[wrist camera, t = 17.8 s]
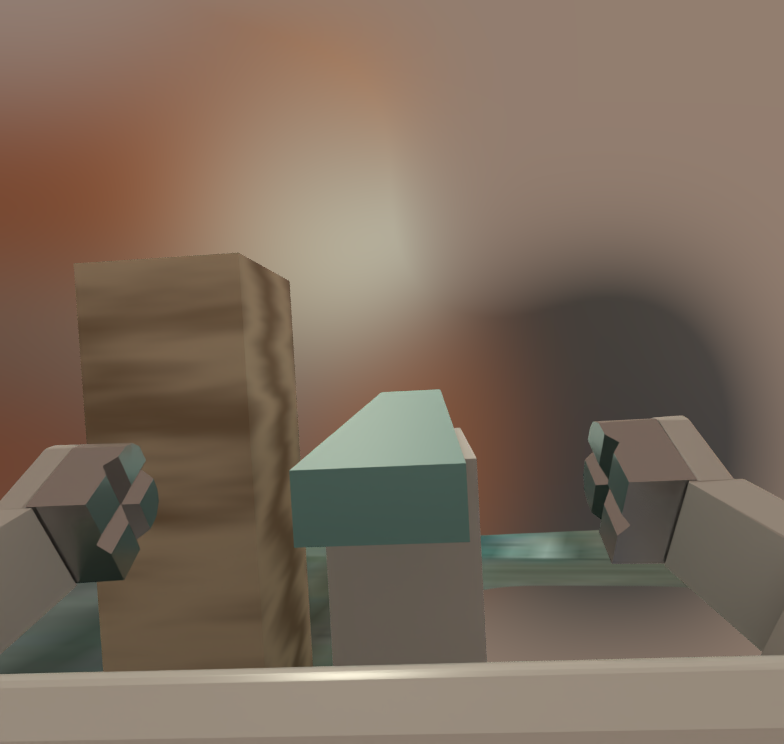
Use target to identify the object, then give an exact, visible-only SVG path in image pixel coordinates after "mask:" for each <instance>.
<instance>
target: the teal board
mask: <svg viewBox="0 0 784 744" xmlns="http://www.w3.org/2000/svg"><path fill="white" fill-rule="evenodd" d="M289 475H290V491H291V507H292V523H293V540H294V548H301V547H333V546H364V545H395V544H426V543H457V542H470V532H469V512H468V493H467V473H466V462H465V459H464V456H463V453H462V450H461V448H460V445H459V442H458V439H457V436H456V433H455V430H454V428H453V425H452V422H451V419H450V416H449V413H448V411H447V408H446V405H445V402H444V399H443V396H442V393H441V391H440V390H419V391H400V392H382V393H380V394H379V395H378V396H377V397H375V399H373V400H372V401H371V402H370V403H368V404H367V405H366V406H365V407H364V408H363V409H361V410H360V411H359V412H358V413H357V414H355V415H354V416H353V417H352V418H351V419H350V420H348V421H347V422H346V423H345V424H344V425H342V426H341V427H340V428H339V429H338V430H337V431H335V432H334V433H333V434H332V435H331V436H329V437H328V438H327V439H326V440H325V441H324V442H322V443H321V444H320V445H319V446H318V447H316V448H315V449H314V450H313V451H312V452H311V453H309V454H308V455H307V456H306V457H305V458H304V459H302V460H301V461H300V462H299V463H298V464H296V465H295V466H294V467H293V468H292V469H290V470H289Z"/></svg>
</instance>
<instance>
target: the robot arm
mask: <svg viewBox="0 0 784 744" xmlns="http://www.w3.org/2000/svg"><path fill="white" fill-rule="evenodd" d="M588 441H589V443H590V446H591V448H592V450H593V452H592V454H590V455H589V456H588V457H587V459H586V460H585V465H584V474H583V476H584V490H585V494H586V498H587V502H588V505H589V507H590V510H591V512H592V513H593V514H595V515H596V516H597V517H599V518H600V519H601V525H600V530H599V533H600V535H601V538H602V540H603V543H604V545H605V548H606V550H607V553H608V555H609V558H610V560H611V563H612V564H654V563H665V567H666V568H667V569H669V570H670V571H671V572H672V573H673V574H674V575H675V576H677V577H678V578H679V579H680V580H681V581H682V582H683V583H685V584H686V585H687V586H688V587H689V588H690V589H691V590H693V591H694V592H695V593H696V594H697V595H698V596H699V597H701V598H702V599H703V600H704V601H705V602H706V603H707V604H708V605H710V606H711V607H712V608H713V609H714V610H715V611H716V612H717V613H719V614H720V615H721V616H722V617H723V618H724V619H726V620H727V621H728V622H729V623H730V624H731V625H732V626H733V627H735V628H736V629H737V630H738V631H739V632H740V633H741V634H743V635H744V636H745V637H746V638H747V639H748V640H749V641H751V642H752V643H753V644H754V645H755V646H756V647H757V648H758V649H759V650H761V651H762V654H761V656H729V657H728V656H727V657H686V658H644V659H604V660H563V661H526V662H525V661H524V662H523V661H522V662H482V663H441V664H402V665H362V666H322V667H283V668H243V669H202V670H159V671H117V672H75V673H35V674H0V744H784V500H782V499H780V498H779V497H777V496H775V495H773V494H771V493H769V492H767V491H765V490H763V489H762V488H760V487H758V486H756V485H754V484H752V483H750V482H748V481H746V480H745V479H733V477H732V476H731V475H730V473H729V472H728V471H727V470H726V468H725V467H724V466H723V464H722V463H721V462H720V460H719V459H718V458H717V456H716V455H715V454H714V452H713V451H712V450H711V448H710V447H709V446H708V444H707V443H706V442H705V441H704V439H703V438H702V436H701V435H700V434H699V433H698V431H697V430H696V428H695V427H694V426H693V424H692V423H691V422H690V420H689V419H688V418H686V417H684V416H669V417H655V418H652V419H635V420H617V421H597V422H593V423H592V425H591V428H590V431H589V437H588ZM145 461H146V459H145V457H144V455H143V453H142V451H141V448H140V446H138V445H135V444H133V443H114V444H81V445H55V446H52V447H50V448H47V449H45V450H44V451H43V452H42V454H41V455H40V456H39V457H38V458H37V459H36V461H35V462H34V463H33V464H32V465H31V466H30V468H29V469H28V470H27V471H26V472H25V473H24V474H23V475H22V477H21V478H20V479H19V480H18V481H17V482H16V483H15V485H14V486H13V487H12V488H11V489H10V490H9V492H8V493H7V494H6V495H5V496H4V497H3V498H2V500H1V501H0V654H1V653H2V652H3V651H5V650H6V649H7V648H8V647H9V646H10V645H11V644H12V643H13V642H15V641H16V640H17V639H18V638H19V637H20V636H21V635H22V634H23V633H25V632H26V631H27V630H28V629H29V628H30V627H31V626H32V625H34V624H35V623H36V622H37V621H38V620H39V619H40V618H41V617H42V616H44V615H45V614H46V613H47V612H48V611H49V610H50V609H51V608H52V607H54V606H55V605H56V604H57V603H58V602H59V601H60V600H61V599H62V598H64V597H65V596H66V595H67V594H68V593H69V592H70V591H71V590H72V589H74V588H75V587H76V586H77V585H76V583H87V582H103V581H119V580H125V578H126V576H127V574H128V572H129V570H130V568H131V566H132V564H133V562H134V560H135V558H136V557H137V555H138V553H139V551H140V547H139V544H138V541H137V539H138V538H140V537H141V536H142V535H144V534H145V533H146V532H147V531H149V530H150V529H151V527H152V525H153V523H154V521H155V519H156V517H157V510H158V504H159V497H158V490H157V486H156V484H155V481H154V479H153V478H152V477H151V476H149V475H148V474H147V473H145V472H144V471H143V470H142V468H143V466H144V463H145Z"/></svg>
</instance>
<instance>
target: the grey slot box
mask: <svg viewBox="0 0 784 744" xmlns="http://www.w3.org/2000/svg"><path fill="white" fill-rule="evenodd" d="M454 430H455V433H456V436H457V439H458V442H459V445H460V448H461V450H462V453H463V456H464V459H465V462H466V473H467V493H468V512H469V532H470V542H457V543H426V544H395V545H364V546H333V547H326V555H327V571H328V588H329V605H330V622H331V639H332V655H333V666H362V665H402V664H441V663H482V662H487V657H486V638H485V617H484V598H483V577H482V557H481V537H480V518H479V500H478V499H479V498H478V481H477V480H478V479H477V460H476V457H475V455H474V453H473V451H472V449H471V447H470V445H469V444H468V442H467V440H466V438H465V436H464V434H463V432H462V431H461V429H460V428H454Z"/></svg>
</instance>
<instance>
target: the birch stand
mask: <svg viewBox="0 0 784 744" xmlns="http://www.w3.org/2000/svg"><path fill="white" fill-rule="evenodd" d="M74 274H75V287H76V302H77V316H78V329H79V343H80V357H81V370H82V384H83V398H84V412H85V425H86V439H87V444H114V443H133V444H135V445H138V446H140V448H141V451H142V453H143V455H144V457H145V459H146V461H145V463H144V466H143V468H142V470H143V471H144V472H145V473H147V474H148V475H149V476H151V477H152V478H153V479H154V481H155V484H156V486H157V490H158V497H159V504H158V510H157V517H156V519H155V521H154V523H153V525H152V527H151V529H150V530H149V531H147V532H146V533H145V534H144V535H142V536H141V537H140V538H138V539H137V541H138V544H139V547H140V551H139V553H138V555H137V557H136V558H135V560H134V562H133V564H132V566H131V568H130V570H129V572H128V574H127V576H126V578H125V580H119V581H103V582H97V591H98V605H99V618H100V632H101V646H102V660H103V672H117V671H159V670H202V669H243V668H283V667H313V661H312V645H311V628H310V612H309V595H308V579H307V562H306V547H301V548H294V540H293V523H292V507H291V491H290V475H289V470H290V469H292V468H293V467H294V466H295V465H296V464H298V463H299V462H300V447H299V430H298V414H297V398H296V381H295V365H294V350H293V332H292V315H291V299H290V284H289V281H288V280H286V279H285V278H283V277H281V276H279V275H277V274H276V273H274V272H272V271H270V270H268V269H267V268H265V267H263V266H261V265H259V264H258V263H256V262H254V261H252V260H251V259H249V258H247V257H245V256H243V255H242V254H240V253H229V254H213V255H197V256H182V257H167V258H152V259H137V260H122V261H107V262H93V263H77V264H74Z"/></svg>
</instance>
